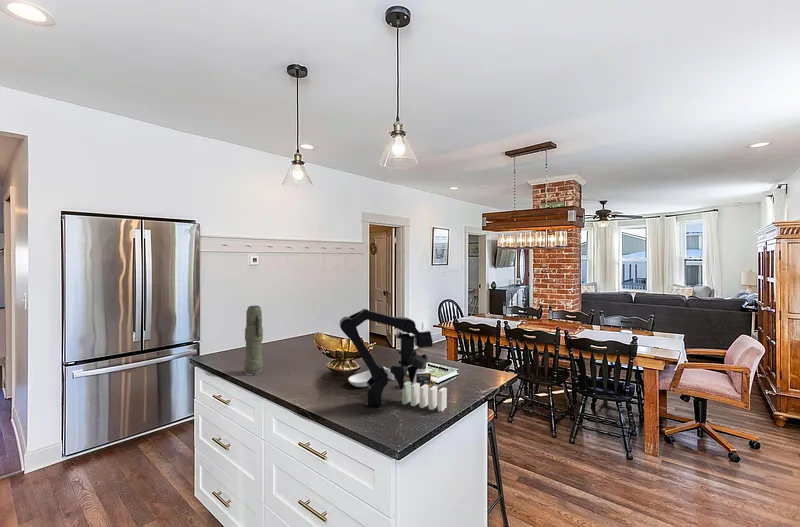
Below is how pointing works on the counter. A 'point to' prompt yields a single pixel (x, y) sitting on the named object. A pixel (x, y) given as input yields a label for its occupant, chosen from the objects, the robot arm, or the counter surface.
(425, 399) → the domino
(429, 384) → the medicine bottle
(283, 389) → the counter surface
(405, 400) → the pale green domino
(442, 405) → the domino
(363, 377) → the spoon rest
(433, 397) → the domino
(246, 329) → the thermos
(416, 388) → the domino
